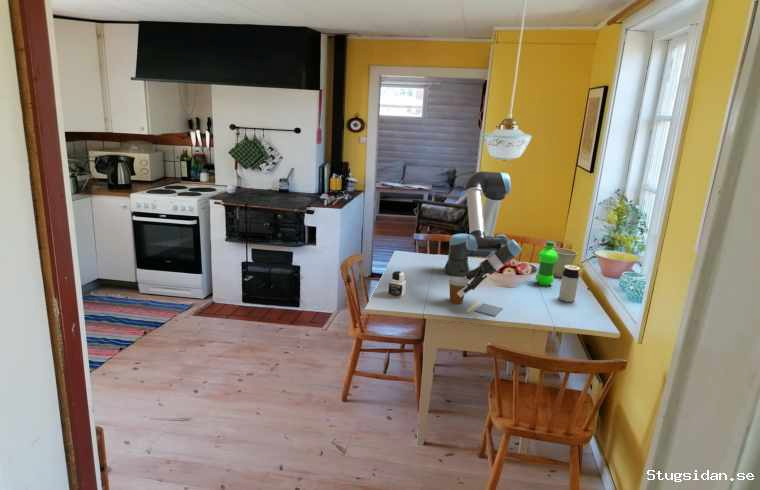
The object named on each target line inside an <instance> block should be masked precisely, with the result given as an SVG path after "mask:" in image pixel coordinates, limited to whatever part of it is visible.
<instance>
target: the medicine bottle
mask: <svg viewBox="0 0 760 490" xmlns="http://www.w3.org/2000/svg"><path fill="white" fill-rule="evenodd" d="M406 290H407V280H405V273H404V272H402V271H393V272H392V274H391V280H390V281H389V282H388V292H387V294H388V295H387V296H390V297H394V298H398V299H399V298H400V299H401V298H403V297H404V295H406Z"/></svg>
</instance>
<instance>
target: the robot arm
mask: <svg viewBox="0 0 760 490" xmlns="http://www.w3.org/2000/svg"><path fill="white" fill-rule="evenodd" d="M511 185H512V184H511V178H510V175H509V173H506V172H501V171H499V172H497V171H496V172H495V171H481V170H480V171H476V172H474V173H473V174H472V175H471V176H470V177H469V178H468V179H467V181H466V183H465V185H464V196H465V197H466V202H467V203H466V204H467V213H468V214H467V215H468V217H467V218H468V229H469V234H468V233H456V234H453V235H451V237H450V239H449V248H448V249H449V250H448V256H447V257H448V258H447V261H446V263H445V265H444V269H443V272H444V273H445V274H447V275H450V276H452V277H455V276H457V277H463V278H466V279H467V282H468V284H467V286H465V287H464V288H463V289H461V290H460V291H459V292H458V293H457V294H458V295H459V296H460V298H461V297H462V296H463V295H464V296H465V295H466V294H467V293H468V292H470V291H474V290H475V289H476V288H477V287H478V286H479V285H480V284H481V283H482V282H483V281H484V280H485V279H486V278H488V275H487V274H489V276H492V275H493V274H494V273H496V272H497V270H500V269H501V268H504V266H505V265H507V264H508V263H509V262H511V261H512V260H513V259H514V258H516V257H517V256H518V255H519V254H520V253H521V252H522V250H523V249H522V247H520V245H519V244H518V243H517V242H516V241H515V239H511V240H510V238H509V237H508V236H507V235H505V234H497V235H494V233H495V228H496V224H497V220H498V215H499V210H500V206H501V204H502V201H504V199H505V198H506V196H508V195H510V193H511V188H512V187H511ZM482 196H484V197H485V200H484V205H483V199H482ZM469 257H471V258H484V260H483V261H482V262H481V264H480V265H478V267H476V268H474V269H472V270H470V266H469ZM469 281H471V282H470V283H469Z"/></svg>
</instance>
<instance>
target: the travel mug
mask: <svg viewBox="0 0 760 490" xmlns="http://www.w3.org/2000/svg"><path fill="white" fill-rule="evenodd" d="M564 267H565V270H564V271H563V275H562V278H561V283H560V288H559V294H558V299H559V300H560V301H563V302H566V303H573V302H575V300H576V296H577V289H578V284H579V283H578V282H579V277H580V273H579V270H581V269H580V267H579V266H575V265H566V266H564Z"/></svg>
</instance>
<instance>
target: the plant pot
mask: <svg viewBox="0 0 760 490" xmlns="http://www.w3.org/2000/svg"><path fill="white" fill-rule="evenodd" d="M553 250H554V251H555V252H556V253H557V254H558V260H557V261H556V262H555V264H554V271H553V276H554V277H555V278H560V277H562V275H563V271H564V270H565V267H564V266H566V265H572V266H574V263H575V260H576V257H577V254H578V253H577V252H576V251H575V250H573V249H569V248H562V247H553Z"/></svg>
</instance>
